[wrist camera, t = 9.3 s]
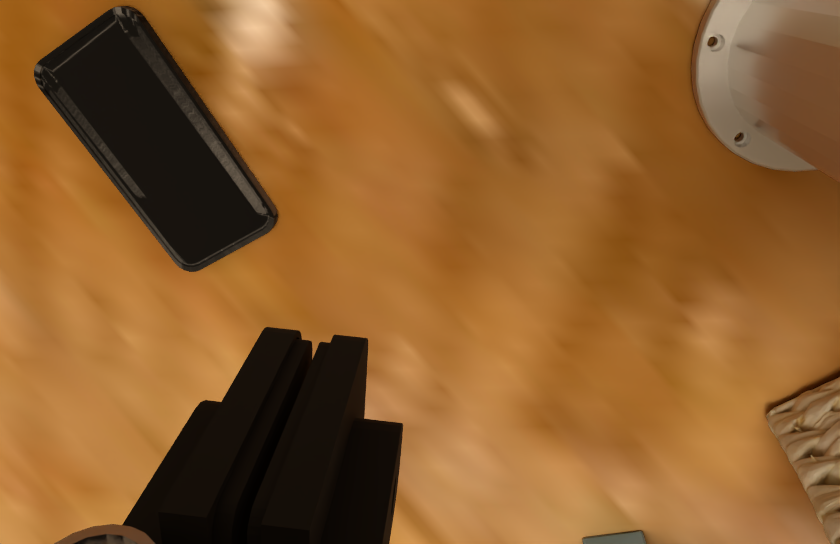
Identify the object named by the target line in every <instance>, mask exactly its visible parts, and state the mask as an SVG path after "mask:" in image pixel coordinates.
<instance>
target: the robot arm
mask: <svg viewBox="0 0 840 544" xmlns="http://www.w3.org/2000/svg"><path fill="white" fill-rule="evenodd" d="M713 36H714V38H715V42H714V44H713V45H712V46H708V45H707V42H708V40H709V38H710V37H713ZM691 74H692V86H693V93H694V96H695V100H696V103H697V107H698V110H699V112H700V114H701V116H702V118H703V120H704V121H705V123H706V125H707V127H708V129H709V130H710V131H711V132H712V133H713V134H714V135H715V136H716V138H717V139H718V140H719V141H720V142H721V143H722V144H723V145H724V146H726V147H727V148H728V149H729V150H731V151H732V152H733V153H735V154H736V155H738V156H740V157H742V158H744V159H746V160H747V161H749V162H751V163H753V164H756V165H759V166H763V167H766V168H769V169H773V170H782V171H792V172H798V171H811V170H820V171H822V172H823V173H825V174H827V175H828V176H830V177H831V178H833V179H835V180H836V181H838V182H840V0H711V2H710V4H709V6H708V8H707V10H706V12H705V14H704V16H703V19H702V21H701V23H700V26H699V30H698V33H697V36H696V40H695V43H694V48H693V57H692V66H691ZM740 132H741V136H740V138H739V139H737V140H734V138H735V136H736V135H737V134H738V133H740ZM367 357H368V339H367V338H360V337H351V336H342V335H334V336H333V338H332V340H331V343H326V342H320V343H319V345H318V348H317V350H316V353H315V355H314V357H313V360H312V342H311V341H308V340H302V338H301V333H300V331H298V330H289V329H280V328H271V327H266V328H264V330H263V331H262V333H261V335H260V336H259V338H258V340H257V341H256V343H255V345H254V347H253V348H252V350H251V352H250V354H249V355H248V357H247V359H246V360H245V362H244V364H243V366H242V367H241V369H240V371H239V373H238V374H237V376H236V378H235V379H234V381H233V383H232V385H231V386H230V388H229V390H228V392H227V393H226V395H225V397H224V398H223V400H222V402H216V401H208V400H205V401H202V402H200V404H199V405H198V406H197V407H196V409H195V410H194V412H193V413H192V415H191V416H190V418H189V420H188V421H187V423H186V424H185V426H184V428H183V429H182V431H181V432H180V434H179V436H178V437H177V439H176V440H175V442H174V444H173V445H172V447H171V448H170V450H169V451H168V453H167V455H166V456H165V458H164V459H163V461H162V463H161V464H160V466H159V467H158V469H157V471H156V472H155V474H154V475H153V477H152V479H151V480H150V482H149V483H148V485H147V486H146V488H145V490H144V491H143V493H142V494H141V496H140V498H139V499H138V501H137V502H136V504H135V506H134V507H133V509H132V510H131V512H130V514H129V515H128V517H127V518H126V520H125V522H124V523H123V525H116V524H110V525H102V526H93V527H90V528H87V529H84V530H81V531H78V532H75V533H72V534H71V535H69V536H67V537H65V538H63V539H62V540H60V541H58V542H56V543H55V544H389V541H390V535H391V528H392V521H393V515H394V508H395V500H396V493H397V484H398V476H399V466H400V456H401V444H402V432H403V423H395V422H387V421H378V420H370V419H364V412H365V394H366V376H367Z"/></svg>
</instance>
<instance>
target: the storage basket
mask: <svg viewBox="0 0 840 544" xmlns="http://www.w3.org/2000/svg"><path fill="white" fill-rule="evenodd" d="M766 418H767V420H768V425H769V427H770V429H771V431H772V432H773V433H774V435H775V436H776V438H777V439H778V441H779V443H780V445H781V447H782V449H783V450H784V451H785V453H786V454H787V457H788V460H789V462H790V463H791V464H792V465H793V468H794V470H795V471H796V473H797V474H798V478H799V479H800V481H801V483H802V485H803V487H804V490H805V491H806V493H807V494H808V497H809V499H810V501H811V503H812V504H813V507H814V510H815V512H816V515H817V518H818V519H819V521H820V522H821V524H822V525H823V528H824V531H825V534H826V536H827V538H828V540H829V541H830V543H831V544H840V376H839V378H837V379H835V380H832V381H830V382H828V383H825V384H823V385H821V386H819V387H817V388H815V389H813V390H809V391H806V392H804V393H802V394H800V396H798V397H796V398H794V399H792V400H790V401H787V402H785V403H783V404H781V405H779V406H776V407H774V408H773V409H772V410H771V411H770V412H769V413H768V414H767V417H766Z"/></svg>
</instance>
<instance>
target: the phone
mask: <svg viewBox="0 0 840 544" xmlns="http://www.w3.org/2000/svg"><path fill="white" fill-rule="evenodd" d="M34 77H35V81H36V83H37V85H38V87H39V88H40V90H41V91H42V92H43V94H44V95H45V96H46V98H47V99H48V100H49V101H50V103H51V104H52V105H53V107H54V108H55V109H56V110H57V112H58V113H59V114H60V116H61V117H62V118H63V119H64V121H65V122H66V123H67V125H68V126H69V127H70V128H71V130H72V131H73V132H74V134H75V135H76V136H77V137H78V139H79V140H80V141H81V143H82V144H83V145H84V146H85V148H86V149H87V150H88V152H89V153H90V154H91V155H92V157H93V158H94V159H95V161H96V162H97V163H98V164H99V166H100V167H101V168H102V170H103V171H104V172H105V173H106V175H107V176H108V177H109V179H110V180H111V181H112V182H113V184H114V185H115V186H116V188H117V189H118V190H119V191H120V193H121V194H122V195H123V197H124V198H125V199H126V200H127V202H128V203H129V204H130V206H131V207H132V208H133V209H134V211H135V212H136V213H137V215H138V216H139V217H140V218H141V220H142V221H143V222H144V224H145V225H146V226H147V227H148V229H149V230H150V231H151V233H152V234H153V235H154V236H155V238H156V239H157V240H158V242H159V243H160V244H161V245H162V247H163V248H164V249H165V251H166V252H167V253H168V255H169V256H170V257H171V258H172V260H173V261H174V262H175V263H176V264H177V265H178V266H179V267H180V268H181V269H183V270H186V271H189V272H195V271H198V270H201V269H203V268H204V267H206V266H208V265H210V264H212V263H214V262H215V261H217V260H219V259H221V258H223V257H225V256H226V255H228V254H230V253H232V252H234V251H236V250H237V249H239V248H241V247H243V246H245V245H247V244H248V243H250V242H252V241H254V240H256V239H258V238H259V237H261V236H263V235H265V234H267V233H268V232H269V231H270V230H271V229H272V228H273V227H274V225H275V224H276V222H277V218H278V214H277V210H276V208H275V206H274V204H273V203H272V201H271V200H270V198H269V197H268V195H267V194H266V193H265V191H264V190H263V188H262V187H261V185H260V184H259V182H258V181H257V179H256V178H255V177H254V175H253V174H252V172H251V171H250V169H249V168H248V166H247V165H246V163H245V162H244V161H243V159H242V158H241V156H240V155H239V153H238V152H237V150H236V149H235V148H234V146H233V145H232V143H231V142H230V140H229V139H228V137H227V136H226V134H225V133H224V132H223V130H222V129H221V127H220V126H219V124H218V123H217V121H216V120H215V118H214V117H213V116H212V114H211V113H210V111H209V110H208V108H207V107H206V105H205V104H204V103H203V101H202V100H201V98H200V97H199V95H198V94H197V92H196V91H195V89H194V88H193V87H192V85H191V84H190V82H189V81H188V79H187V78H186V76H185V75H184V73H183V72H182V71H181V69H180V68H179V66H178V65H177V63H176V62H175V60H174V59H173V58H172V56H171V55H170V53H169V52H168V50H167V49H166V47H165V46H164V44H163V43H162V42H161V40H160V39H159V37H158V36H157V34H156V33H155V31H154V30H153V28H152V27H151V26H150V24H149V23H148V21H147V20H146V18H145V17H144V16H143V15H142V14H141V12H139V11H138V10H136V9H135V8H132V7H129V6H121V7H114V8H112V9H110V10H108V11H107V12H106V13H104V14H103V15H101V16H100V17H99V18H97V19H96V20H95V21H93V22H92V23H90V24H89V25H88V26H86V27H85V28H84V29H82V30H81V31H79V32H78V33H77V34H75V35H74V36H73V37H71V38H70V39H68V40H67V41H66V42H64V43H63V44H62V45H60V46H59V47H57V48H56V49H55V50H53V51H52V52H51V53H49V54H48V55H47V56H45V57H44V58H42V59H41V60H40V61H39V62H38V63H37V64H36V66H35V69H34Z"/></svg>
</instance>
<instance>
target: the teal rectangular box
mask: <svg viewBox="0 0 840 544" xmlns="http://www.w3.org/2000/svg"><path fill="white" fill-rule="evenodd" d="M583 544H646V541H645V537H644V534H643V532H642V531H635V532H626V533H618V534H607V535H599V536H592V537H585V538H583Z"/></svg>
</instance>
